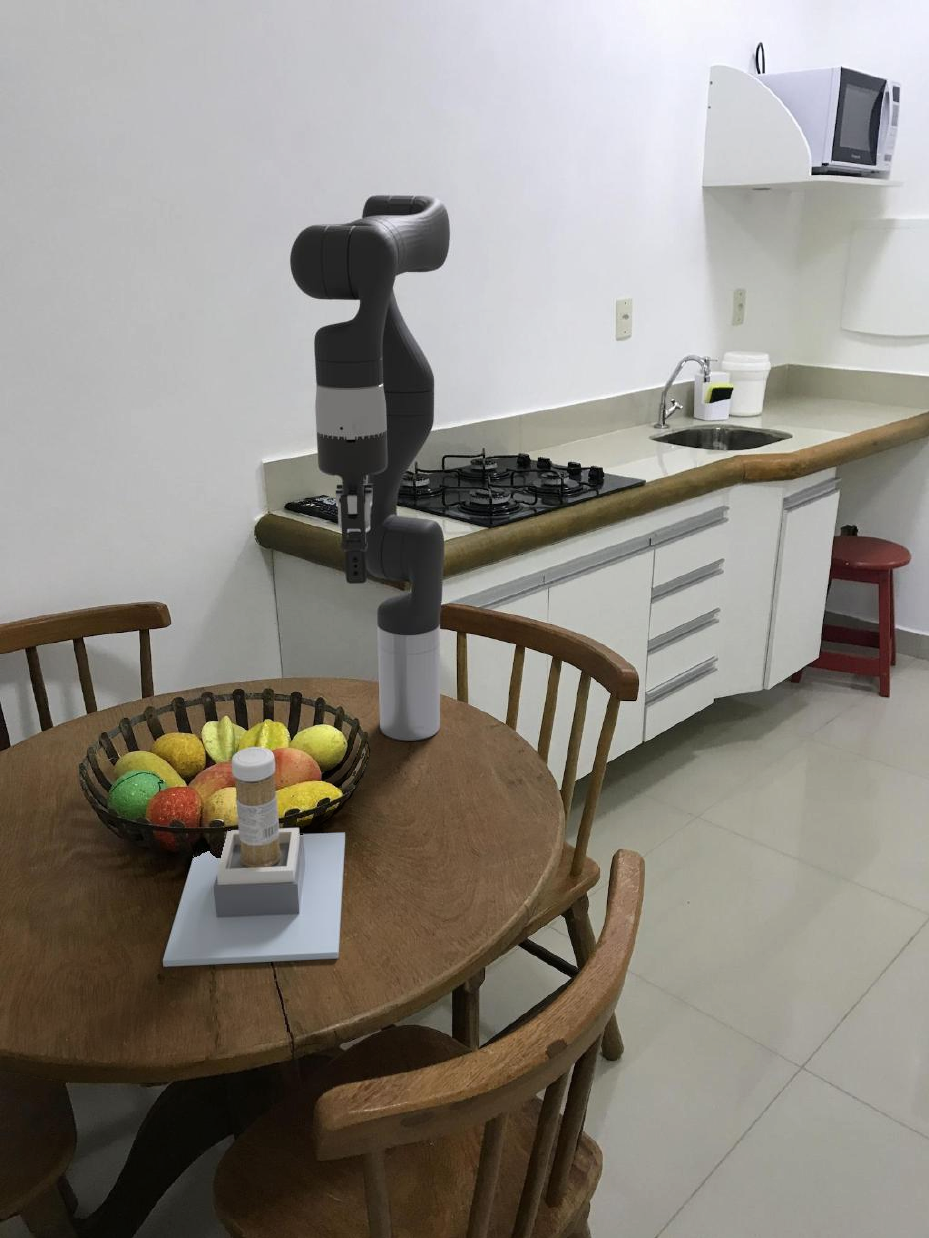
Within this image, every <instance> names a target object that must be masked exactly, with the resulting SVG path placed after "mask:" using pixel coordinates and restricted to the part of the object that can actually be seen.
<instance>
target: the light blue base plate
mask: <svg viewBox="0 0 929 1238" xmlns="http://www.w3.org/2000/svg"><path fill="white" fill-rule="evenodd" d="M230 830H231V829H230ZM300 834H301V833H300V828H299V827H287V828H286V827H285V828H284V827H283V828H282V827H281V828H280V827H279V845H280V851H281V858H280V860H279V861H278V862H277V863H276V864H275V865H274V866H272V867H256V868H248V867H246V866H245V865H243V864H242V861H241V855H242V853H241V842H240V837H239V829H232V830H231V831H228V830H227V832H226V836H225V837H226V839H225V843H224V847H223V851H222V855H221V858H216V857H215V856H213V855H212V854H211V853H210V851H207V852H205V853H202V854H201V855H200V856H197V857H194V856H193V857H194V858H192V861H191V865H190V868H189V871H188V874H187V878H186V880H185V881H186V882H185V884H184V887H183V891H182V894H181V898H180V900H179V905H178V908H177V911H176V913H175V914H176V915H175V917H174V922H173V925H172V927H171V928H172V929H171V932H170V934H169V939H168V941H167V945H166V948H165V952H164V955H163V958H162V965H163V967H165V968H167V967H185V966H205V965H206V966H208V965H209V966H210V965H225V964H227V965H228V964H245V963H246V964H250V963H268V962H269V963H270V962H287V961H288V962H290V961H292V962H293V961H310V960H311V961H313V960H331V959H332V960H333V959H339V955H340V937H341V935H340V934H341V919H342V918H341V916H342V904H343V903H342V900H343V899H342V898H343V886H344V885H343V883H344V865H345V851H346V850H345V849H346V848H345V846H346V832H328V833H327V832H324V833H322V832H321V833H318V832H317V833H302V834H303V835H300Z"/></svg>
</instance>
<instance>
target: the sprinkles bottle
mask: <svg viewBox="0 0 929 1238" xmlns="http://www.w3.org/2000/svg"><path fill="white" fill-rule="evenodd" d="M275 761H276V758H275V754H274V752H273V751H272V750H270V749H268V748H266V747H263V746H262V747H261V746H250V747H247V748H243V749H240V750H238V751H237V752H235V754H233V756H232V757H231V769H232V772H231V773H232V775H233V778H234V784H235V804H236V805H235V806H236V811H237V825H238V830H239V837H240V842H241V853H242V855H241V861H242V864H243V865H245V866H246V867H248V868H256V867H272V866H274V865H275V864H276V863H277V862H278V861H279V860H280V858H281V851H280V845H279V829H280V824H279V823H280V822H279V810H278V809H279V808H278V807H279V806H278V798H277V797H278V795H277V794H278V793H277V791H276V783H275V780H276V779H275V773H276V772H275V771H276V762H275Z"/></svg>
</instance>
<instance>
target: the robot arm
mask: <svg viewBox="0 0 929 1238" xmlns="http://www.w3.org/2000/svg"><path fill="white" fill-rule="evenodd" d="M361 214H362V215H361V218H359V219H356V220H354V221H351V222H348V223H327V224H314V225H309V226H307V227H306V228H304V229H303V230H302V231H301V232H300V233H299V234H298V235H297V236H296V239H295V240H294V242H293V245H292V247H291V251H290V255H289V256H290V257H289V261H290V262H289V263H290V270H291V275H292V277H293V280H294V282H295V284H296V285H297V287H298V288H299V289H300V291H302V292H303V293H304V294H305V295H307V296H308V297H310V298H313V299H316V300H330V301H331V300H337V301H340V300H342V301H347V300H348V301H359V308H358V311H357V312H356V314H355V316H354V317H353V318H352V319H350V320H347V321H343V322H337V323H332V324H328V325H324V326H322V327H320V328H319V329H317V331H316V332H315V334H314V338H313V339H314V343H313V344H314V347H313V348H314V364H315V365H314V367H315V383H316V385H315V386H316V387H315V388H316V390H315V404H314V405H315V406H314V408H315V410H314V411H315V425H316V426H315V427H316V428H315V429H316V447H317V464H318V465H317V466H318V468H319V470H320V472H322V473H323V474H325V475H328V476H333V477H334V476H337V477H340V478H341V480H342V481H341V483H338V484H337V483H336V490H335V503H336V507H337V520H338V521H337V522H338V528H339V531H340V532H341V542H340V548H341V549H342V552H344V562H345V580H346V582H347V583H348V584H350V585H353V584H355V585H356V584H358V585H359V584H360V585H361V584H365V583H366V582H367V578H368V577H367V571H368V572H369V574H370V575H372V576H373V577H375V578H379V579H385V580H391V581H399V582H405V583H411V586H410V587H411V590H410V593H406V594H401V595H397V596H392V597H391V598H390V597H389V598H387V599H386V600H383V601H382V602H381V603H380V604H379V606H378V607H377V613H376V615H377V619H376V620H377V621H376V622H377V650H378V651H377V657H378V694H379V696H378V697H379V698H378V699H379V729H380V731H381V732H382V734H383V735H385V736H386V737H388V738H391V739H394V740H396V741H407V742H409V741H410V742H411V741H419V740H425V739H428V738H431V737H432V736H434V735H436V733H438V732H439V730H440V728H441V609H442V603H443V602H442V601H443V579H444V578H443V576H444V561H445V538H444V537H445V536H444V532H443V530H442V529H443V528H442V526H441V525H440V524H439V522H438V521H435V520H432V519H427V518H419V517H409V516H402V515H398V513H397V512H398V510H397V509H398V507H397V504H398V496H399V492H400V488H401V487H400V486H401V484H402V481H403V479H404V477H405V475H406V473H407V472H408V470H409V468H410V466H411V464H412V463H413V462H414V460H415V459H416V457H417V456H418V454H419V453H420V451H421V449H422V448H423V446H424V445H425V444H426V441H427V439H428V437H429V435H430V434H431V431H432V429H433V425H434V420H435V375H434V372H433V369H432V366H431V365H430V362H429V361H428V358H427V357H426V355H425V354H424V352H423V350H422V349H421V346H420V345H419V343H418V342H417V340H416V339H415V337H414V335H413V334H412V332H411V331H410V328H409V327H408V325H407V323H406V321H405V319H404V317H403V315H402V313H401V310H400V308H399V305H398V302H397V300H396V295H395V293H394V292H395V291H394V286H395V283H396V282H395V280H396V277H398V276H399V275H401V274H405V273H428V272H433V271H437V270H438V269H440V268H441V267H442V266H443V265H444V263H445V262H446V260H447V258H448V253H449V249H450V241H451V240H450V239H451V228H450V226H451V225H450V219H449V214H448V209H446V206H445V205H444V203H443V202H442V201H441V200H439V199H438V198H436V197H433V196H429V195H403V194H402V195H396V194H395V195H391V194H389V195H387V194H384V195H383V194H382V195H380V194H379V195H378V194H377V195H371V196H370V197H368V199H367V200H366V202H364V204H363V208H362V213H361Z"/></svg>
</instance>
